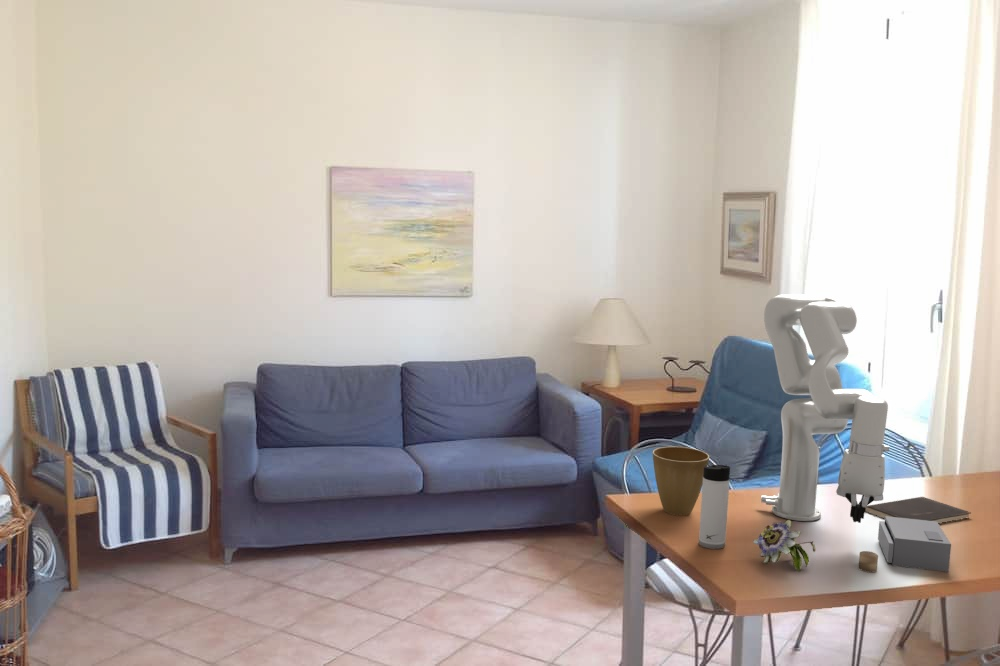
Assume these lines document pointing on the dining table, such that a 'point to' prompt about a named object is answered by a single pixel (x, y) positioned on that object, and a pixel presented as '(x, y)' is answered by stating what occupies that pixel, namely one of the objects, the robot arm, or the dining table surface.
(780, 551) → the passion flower
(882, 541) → the tray
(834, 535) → the dining table surface
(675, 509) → the plant pot
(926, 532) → the housing
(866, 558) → the stand
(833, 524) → the dining table surface
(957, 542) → the dining table surface
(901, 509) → the hardcover book
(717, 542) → the travel mug
